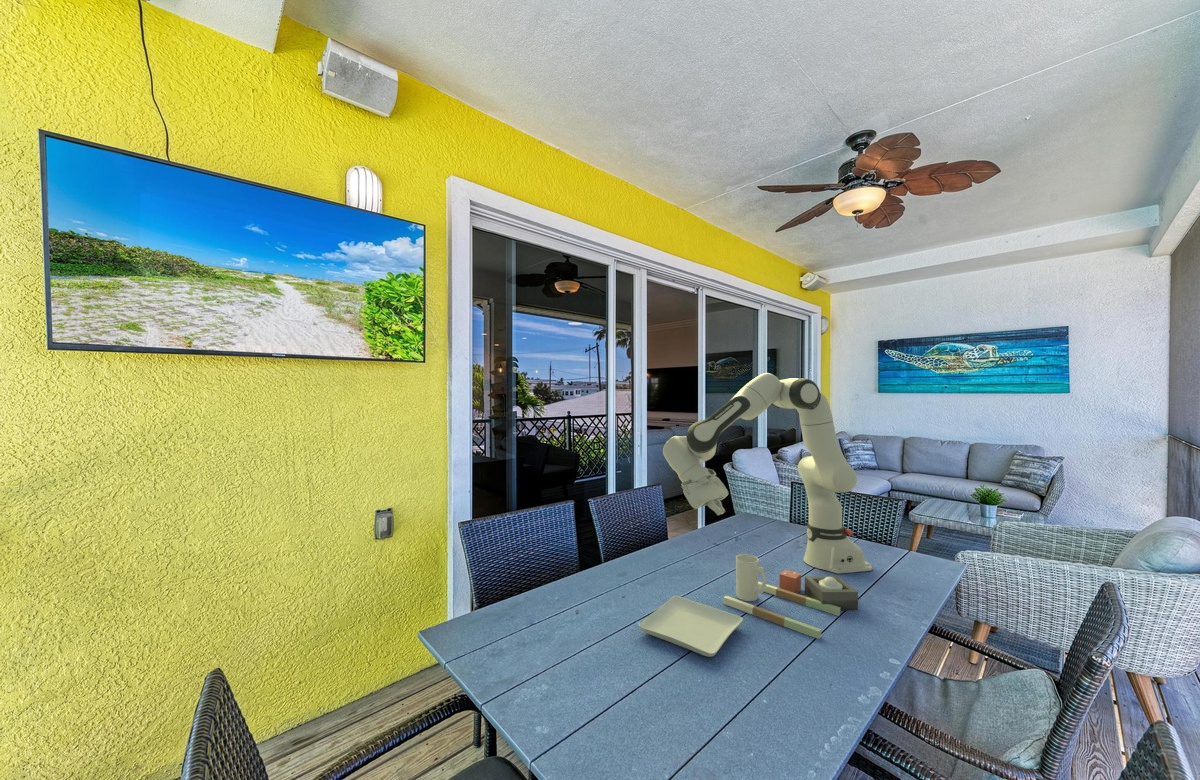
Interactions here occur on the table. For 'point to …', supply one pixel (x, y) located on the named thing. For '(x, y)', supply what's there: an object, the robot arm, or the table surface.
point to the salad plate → (691, 625)
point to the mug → (748, 577)
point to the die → (790, 581)
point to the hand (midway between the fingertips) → (721, 513)
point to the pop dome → (830, 583)
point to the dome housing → (832, 594)
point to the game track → (782, 619)
